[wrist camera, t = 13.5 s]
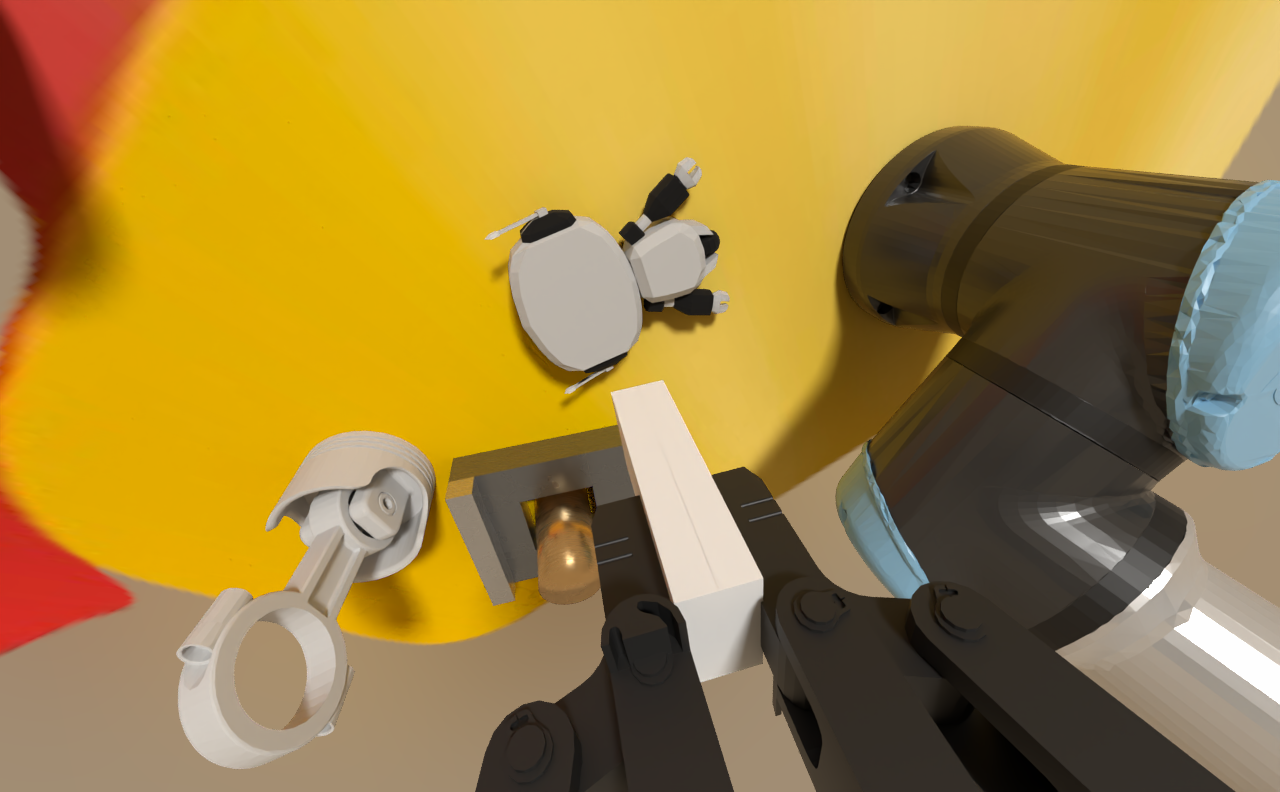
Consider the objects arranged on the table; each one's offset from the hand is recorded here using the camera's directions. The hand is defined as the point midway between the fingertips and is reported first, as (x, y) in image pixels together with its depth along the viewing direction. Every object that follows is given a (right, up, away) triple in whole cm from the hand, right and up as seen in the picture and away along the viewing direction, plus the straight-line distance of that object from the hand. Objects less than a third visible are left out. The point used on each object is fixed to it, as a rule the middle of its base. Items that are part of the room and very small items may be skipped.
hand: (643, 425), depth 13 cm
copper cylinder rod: (-8, -9, +31) cm, 33 cm away
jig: (-8, -9, +31) cm, 33 cm away
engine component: (-23, -6, +25) cm, 35 cm away
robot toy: (-2, +10, +21) cm, 23 cm away
